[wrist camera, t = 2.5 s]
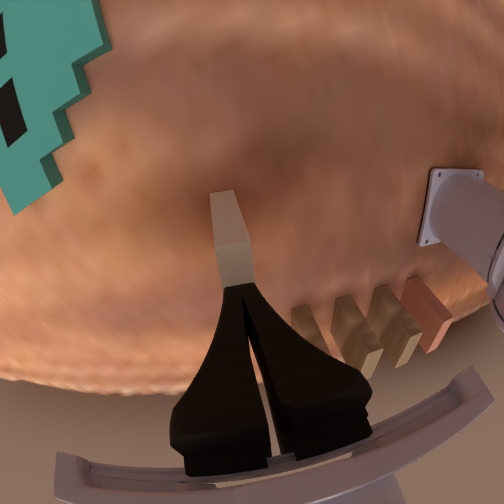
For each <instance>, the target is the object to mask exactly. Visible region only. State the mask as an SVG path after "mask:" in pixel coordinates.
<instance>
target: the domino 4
mask: <svg viewBox="0 0 504 504" xmlns="http://www.w3.org/2000/svg"><path fill="white" fill-rule="evenodd" d="M400 302H401V303H402V305H403V306H404V307H405V308H406V310H407V311H408V312H409V314H410V315H411V316H412V317H413V319H414V320H415V321H416V323H417V324H418V325H419V327H420V328H421V329H422V331H423V333H422V335H421V337H420V339H419V341H418V342H419V343H420V345H421V346H422V348H423V349H424V351H425V352H426V353H428V352H430V351H432V350H434V349H436V348H437V347H438V345H439V343H440V341H441V340H442V338H443V336H444V334H445V333H446V331H447V329H448V327H449V325H450V324H451V322H452V320H453V318H454V317H453V316H452V314H451V313H450V312H449V311H448V310H447V308H446V307H445V306H444V305H443V304H442V303H441V302H440V300H439V299H438V298H437V297H436V296H435V295H434V294H433V293H432V291H431V290H430V289H429V288H428V287H427V286H426V285H425V284H424V283H423V282H422V281H421V280H420V278H419V277H418V276H416V277H413V278H410V279H407V282H406V285H405V288H404V291H403V294H402V297H401V300H400Z"/></svg>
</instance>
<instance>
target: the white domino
mask: <svg viewBox="0 0 504 504" xmlns="http://www.w3.org/2000/svg"><path fill="white" fill-rule="evenodd" d="M209 197H210V207H211V218H212V227H213V237H214V246H215V252H216V257H217V262H218V267H219V272H220V277H221V282H222V287H223V289H224V288H225V287H229V286H234V285H240V284H245V283H251V282H253V283H254V284H255V285H256V283H255V273H254V264H253V255H252V245H251V239H250V236H249V234H248V231H247V228H246V225H245V222H244V219H243V216H242V214H241V211H240V208H239V205H238V202H237V199H236V196H235V194H234V191H233V190H226V191H220V192H214V193H209ZM223 292H224V291H223Z"/></svg>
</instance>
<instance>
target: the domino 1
mask: <svg viewBox="0 0 504 504" xmlns="http://www.w3.org/2000/svg"><path fill="white" fill-rule="evenodd" d="M291 328H292V329H294V330H295V331H296V332H297V333H298V334H299V335H301V336H302V337H303V338H305V339H306V340H307V341H308V342H310V343H311V344H313V345H314V346H316V347H317V348H319V349H320V350H322V351H323V352H325V353H327V354H328V355H330V356H332V355H331V353H330V351H329V349H328V347H327V344H326V342H325V340H324V338H323V336H322V334H321V332H320V330H319V327H318V325H317V323H316V321H315V319H314V317H313V315H312V313H311V311H310V309H309V307H308V305H307V306H303V307H298V308H294V309H292V315H291Z"/></svg>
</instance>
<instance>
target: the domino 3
mask: <svg viewBox="0 0 504 504" xmlns="http://www.w3.org/2000/svg"><path fill="white" fill-rule="evenodd" d="M367 321H368V323H369V325H370V326H371V328H372V329H373V331H374V332H375V334H376V336H377V337H378V339H379V341H380V342H381V344H382V345H383V347H384V349H383V350H384V352H385V353H386V355H387V357H388V358H389V360H390V362H391V363H392V365H393V366H394V368H396V367H398V366H401V365H403V364H405V363H407V361H408V360H409V358H410V356H411V354H412V352H413V350H414V348H415V347H416V345H417V343H418V341H419V339H420V337H421V335H422V333H423V331H422V329H421V328H420V327H419V325H418V324H417V323H416V321H415V320H414V319H413V317H412V316H411V315H410V314H409V312H408V311H407V310H406V308H405V307H404V306H403V305H402V303H401V302H400V301H399V299H398V298H397V297H396V296H395V295H394V293H393V292H392V291H391V290H390V288H389V287H388V286H387V285H386V286H382V287H379V288H375V289H374V293H373V297H372V301H371V305H370V309H369V312H368V316H367Z"/></svg>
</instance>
